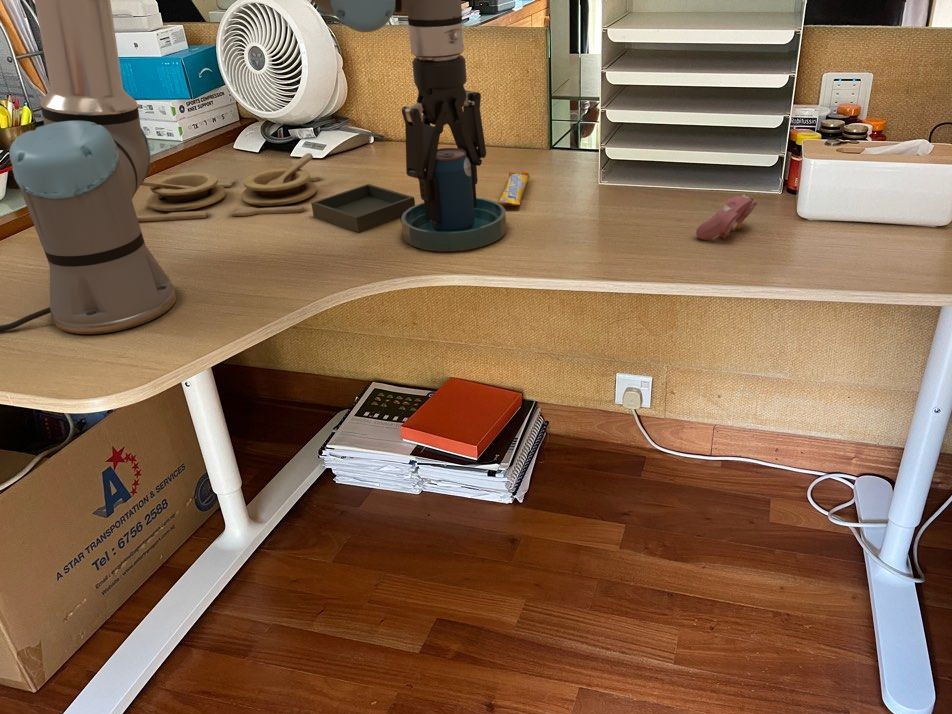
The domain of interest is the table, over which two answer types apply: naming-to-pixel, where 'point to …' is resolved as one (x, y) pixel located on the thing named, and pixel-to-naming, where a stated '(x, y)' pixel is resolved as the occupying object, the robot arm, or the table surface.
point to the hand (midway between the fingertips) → (451, 212)
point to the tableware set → (207, 189)
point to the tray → (362, 207)
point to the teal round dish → (482, 232)
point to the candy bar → (514, 189)
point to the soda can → (454, 190)
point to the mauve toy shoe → (727, 218)
